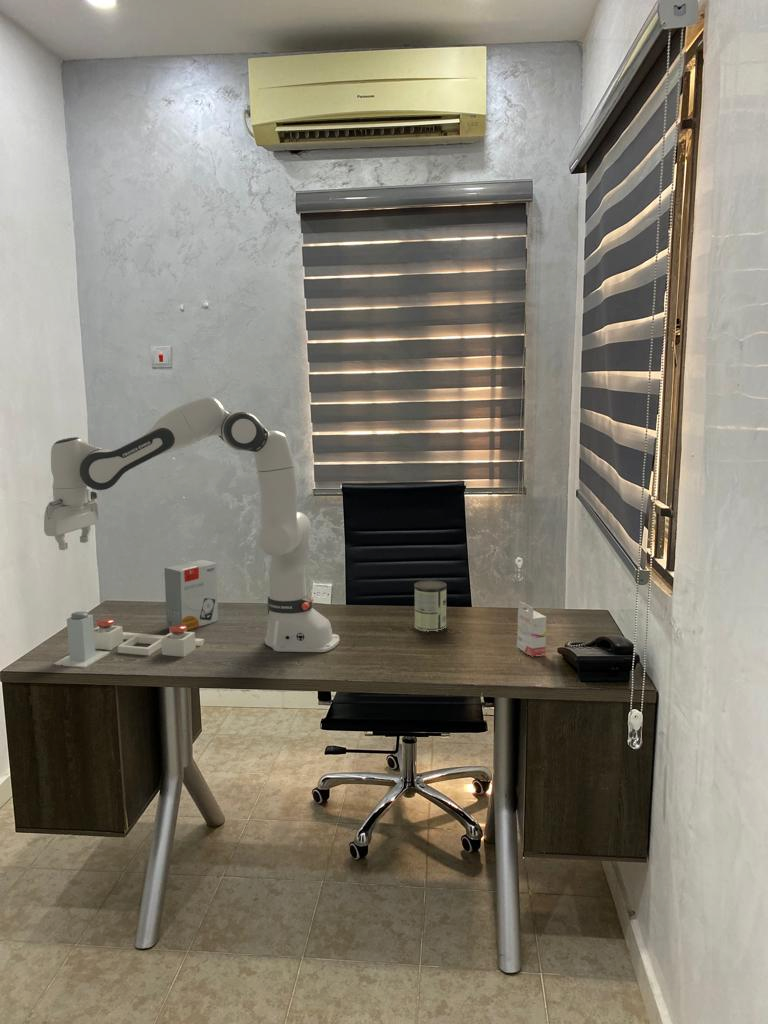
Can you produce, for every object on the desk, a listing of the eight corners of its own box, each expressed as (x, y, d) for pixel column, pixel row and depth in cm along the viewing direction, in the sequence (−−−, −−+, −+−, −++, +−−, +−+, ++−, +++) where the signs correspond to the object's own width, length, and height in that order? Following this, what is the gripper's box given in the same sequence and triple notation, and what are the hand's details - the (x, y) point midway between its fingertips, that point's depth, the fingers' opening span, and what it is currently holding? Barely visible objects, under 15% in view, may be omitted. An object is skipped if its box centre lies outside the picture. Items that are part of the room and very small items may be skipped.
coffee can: (413, 621, 263) (413, 580, 260) (445, 621, 263) (445, 580, 260) (414, 632, 253) (414, 588, 250) (447, 632, 252) (447, 588, 250)
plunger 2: (190, 647, 238) (189, 624, 236) (182, 653, 233) (181, 630, 232) (175, 646, 239) (174, 623, 238) (167, 652, 234) (165, 628, 233)
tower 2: (195, 648, 238) (194, 632, 237) (184, 656, 232) (183, 640, 231) (174, 646, 240) (173, 630, 239) (162, 654, 233) (161, 638, 232)
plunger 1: (118, 641, 243) (117, 618, 242) (109, 646, 239) (107, 624, 237) (103, 639, 245) (102, 617, 243) (94, 645, 240) (92, 622, 239)
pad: (109, 653, 235) (109, 651, 235) (85, 667, 223) (85, 666, 223) (79, 650, 237) (79, 649, 237) (53, 664, 226) (53, 663, 226)
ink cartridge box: (546, 656, 231) (548, 606, 229) (531, 658, 230) (532, 608, 227) (530, 646, 239) (532, 598, 237) (516, 648, 237) (517, 600, 235)
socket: (204, 643, 243) (203, 637, 242) (183, 658, 230) (182, 652, 230) (110, 635, 250) (109, 629, 250) (84, 649, 238) (84, 643, 238)
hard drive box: (181, 633, 252) (178, 571, 249) (165, 628, 257) (162, 567, 253) (219, 620, 265) (216, 561, 261) (203, 616, 269) (201, 558, 266)
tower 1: (123, 642, 244) (122, 626, 243) (110, 649, 238) (109, 633, 237) (103, 640, 246) (102, 624, 245) (89, 647, 239) (88, 631, 238)
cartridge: (80, 653, 233) (77, 610, 231) (95, 655, 232) (92, 611, 230) (69, 659, 228) (66, 615, 226) (85, 661, 227) (81, 617, 225)
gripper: (56, 503, 211) (60, 554, 214) (101, 491, 231) (104, 539, 233) (35, 502, 213) (39, 553, 215) (82, 491, 232) (85, 537, 235)
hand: (74, 545), depth 224 cm, fingers open, 8 cm apart
